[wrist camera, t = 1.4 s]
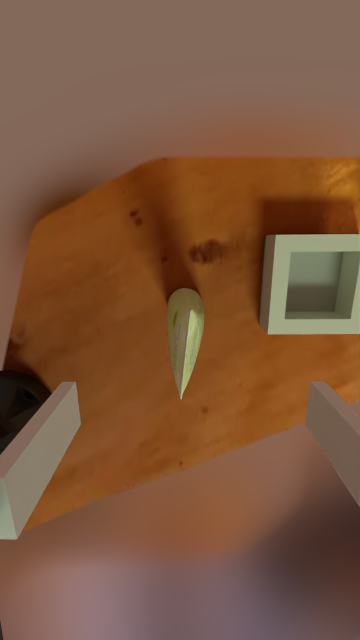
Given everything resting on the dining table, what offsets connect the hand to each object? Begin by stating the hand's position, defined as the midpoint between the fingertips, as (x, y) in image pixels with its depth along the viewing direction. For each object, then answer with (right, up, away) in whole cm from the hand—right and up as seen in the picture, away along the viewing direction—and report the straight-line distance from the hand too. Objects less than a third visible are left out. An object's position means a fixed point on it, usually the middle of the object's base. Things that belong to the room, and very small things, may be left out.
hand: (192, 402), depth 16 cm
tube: (0, +7, +25) cm, 26 cm away
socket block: (+17, +10, +24) cm, 31 cm away
